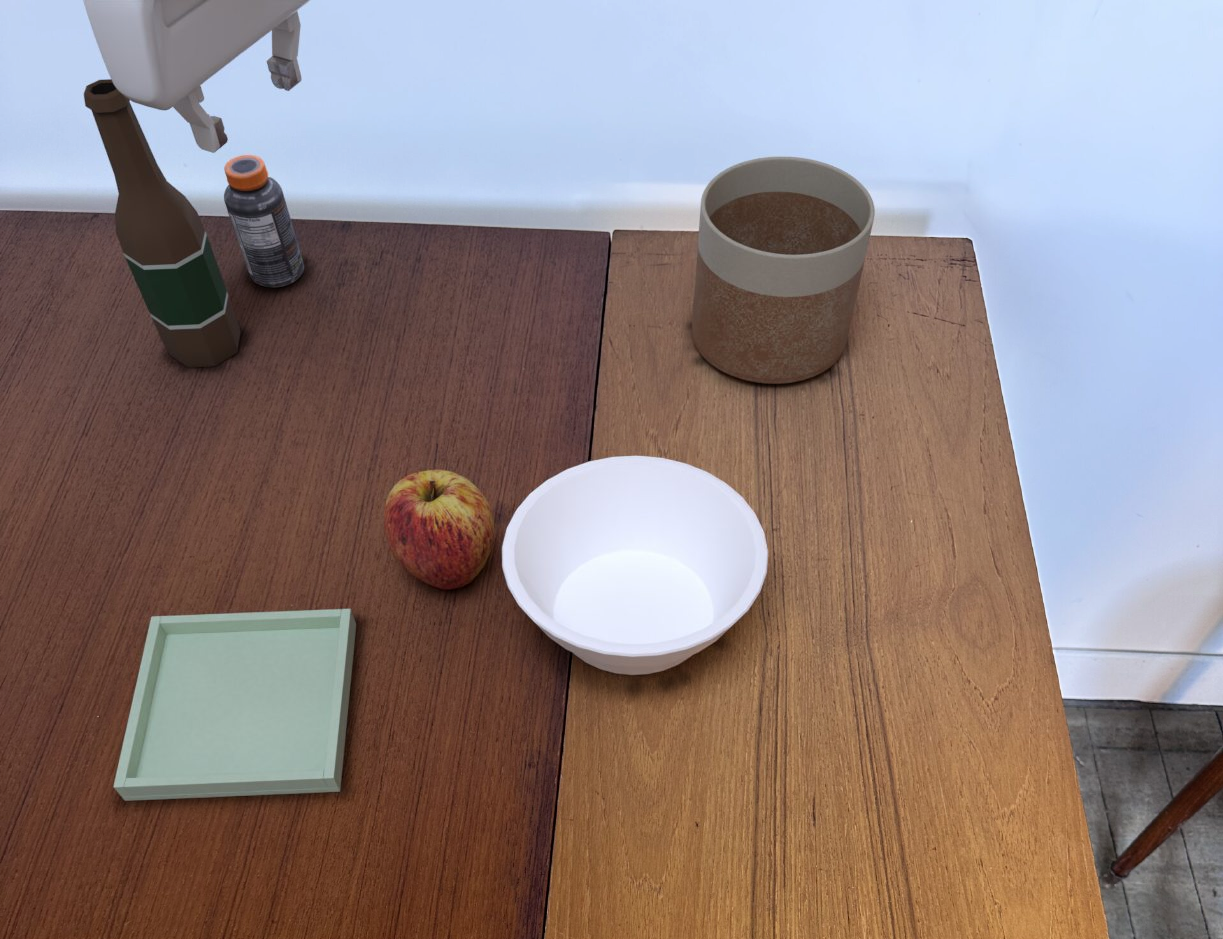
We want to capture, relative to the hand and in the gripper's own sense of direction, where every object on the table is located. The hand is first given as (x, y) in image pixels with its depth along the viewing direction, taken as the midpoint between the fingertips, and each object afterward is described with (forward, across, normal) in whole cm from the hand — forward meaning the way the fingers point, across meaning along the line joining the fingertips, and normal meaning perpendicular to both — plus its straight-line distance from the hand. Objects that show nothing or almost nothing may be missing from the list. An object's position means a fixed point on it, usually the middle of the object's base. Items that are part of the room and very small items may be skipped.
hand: (252, 114), depth 76 cm
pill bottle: (+27, -16, -18) cm, 36 cm away
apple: (+27, +13, +20) cm, 36 cm away
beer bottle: (+27, -3, -18) cm, 33 cm away
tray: (+27, +33, +13) cm, 44 cm away
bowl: (+27, +11, +37) cm, 47 cm away
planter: (+27, -29, +34) cm, 52 cm away
